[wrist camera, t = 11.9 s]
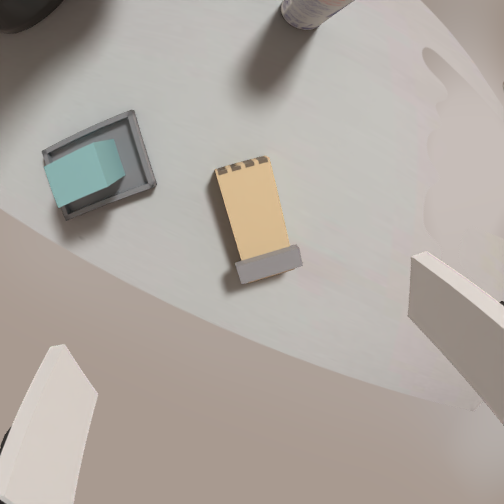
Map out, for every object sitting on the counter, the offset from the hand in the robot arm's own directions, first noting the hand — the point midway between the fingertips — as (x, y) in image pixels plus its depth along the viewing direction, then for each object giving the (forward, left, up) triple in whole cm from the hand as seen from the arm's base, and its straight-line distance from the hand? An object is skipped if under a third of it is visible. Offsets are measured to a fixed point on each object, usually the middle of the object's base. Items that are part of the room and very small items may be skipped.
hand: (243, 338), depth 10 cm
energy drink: (-19, +16, -28) cm, 37 cm away
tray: (-7, -12, -28) cm, 31 cm away
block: (-7, -12, -27) cm, 30 cm away
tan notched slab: (+5, +4, -28) cm, 28 cm away
